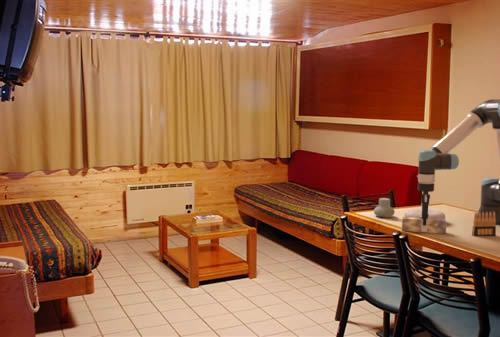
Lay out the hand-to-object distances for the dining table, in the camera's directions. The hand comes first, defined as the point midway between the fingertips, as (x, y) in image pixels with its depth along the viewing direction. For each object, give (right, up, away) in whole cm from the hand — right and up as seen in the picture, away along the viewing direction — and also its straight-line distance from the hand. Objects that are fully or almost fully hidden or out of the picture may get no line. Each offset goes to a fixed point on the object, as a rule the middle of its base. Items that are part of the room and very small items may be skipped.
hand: (423, 230), depth 263 cm
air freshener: (-11, +3, +35) cm, 37 cm away
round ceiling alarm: (+8, +1, +23) cm, 24 cm away
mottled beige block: (0, 0, 0) cm, 0 cm away
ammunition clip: (+26, -2, -7) cm, 27 cm away
